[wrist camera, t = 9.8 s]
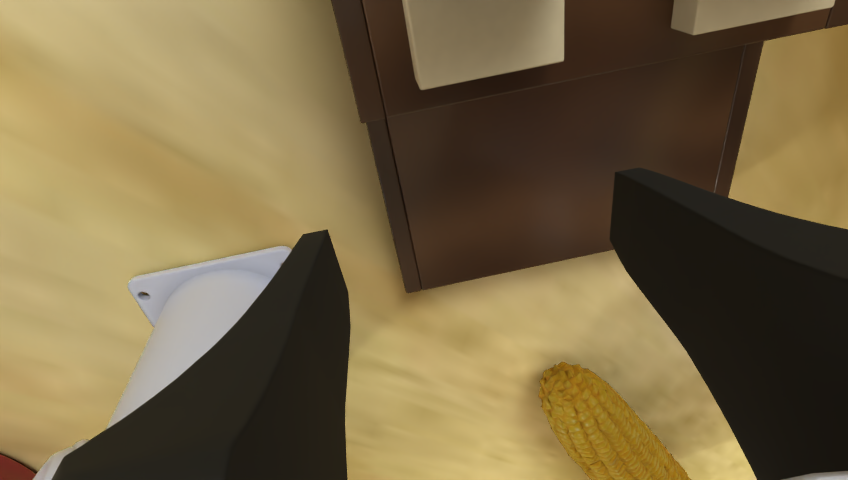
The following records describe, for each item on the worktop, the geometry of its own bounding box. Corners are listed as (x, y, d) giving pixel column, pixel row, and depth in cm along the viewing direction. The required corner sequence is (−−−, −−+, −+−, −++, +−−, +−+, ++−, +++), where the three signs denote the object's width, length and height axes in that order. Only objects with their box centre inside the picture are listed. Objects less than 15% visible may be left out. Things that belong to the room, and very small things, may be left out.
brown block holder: (695, 205, 26) (772, 267, 21) (401, 267, 25) (414, 344, 21) (801, -362, 14) (1017, -497, 10) (277, -266, 14) (243, -360, 9)
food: (683, 460, 40) (730, 535, 35) (623, 489, 41) (660, 565, 37) (571, 326, 29) (617, 407, 24) (495, 372, 31) (524, 457, 26)
